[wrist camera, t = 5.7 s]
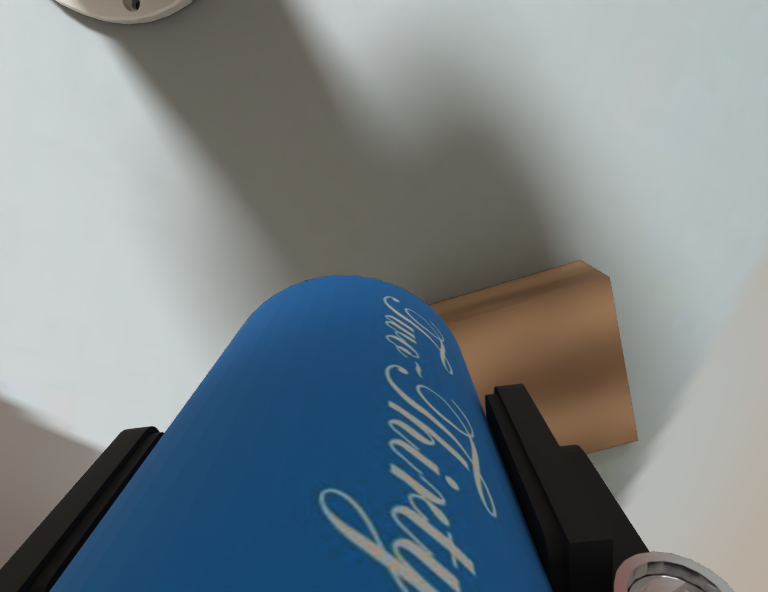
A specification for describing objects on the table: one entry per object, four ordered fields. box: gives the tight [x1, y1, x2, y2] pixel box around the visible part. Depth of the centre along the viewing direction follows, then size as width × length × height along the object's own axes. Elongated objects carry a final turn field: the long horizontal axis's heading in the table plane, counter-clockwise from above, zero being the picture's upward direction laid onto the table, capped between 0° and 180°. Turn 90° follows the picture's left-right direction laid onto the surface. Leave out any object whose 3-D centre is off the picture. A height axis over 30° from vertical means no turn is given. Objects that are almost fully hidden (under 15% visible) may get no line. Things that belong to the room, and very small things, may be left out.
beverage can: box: [50, 275, 553, 592], centre depth 8 cm, size 6×6×12 cm
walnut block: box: [429, 260, 638, 454], centre depth 31 cm, size 11×11×4 cm
